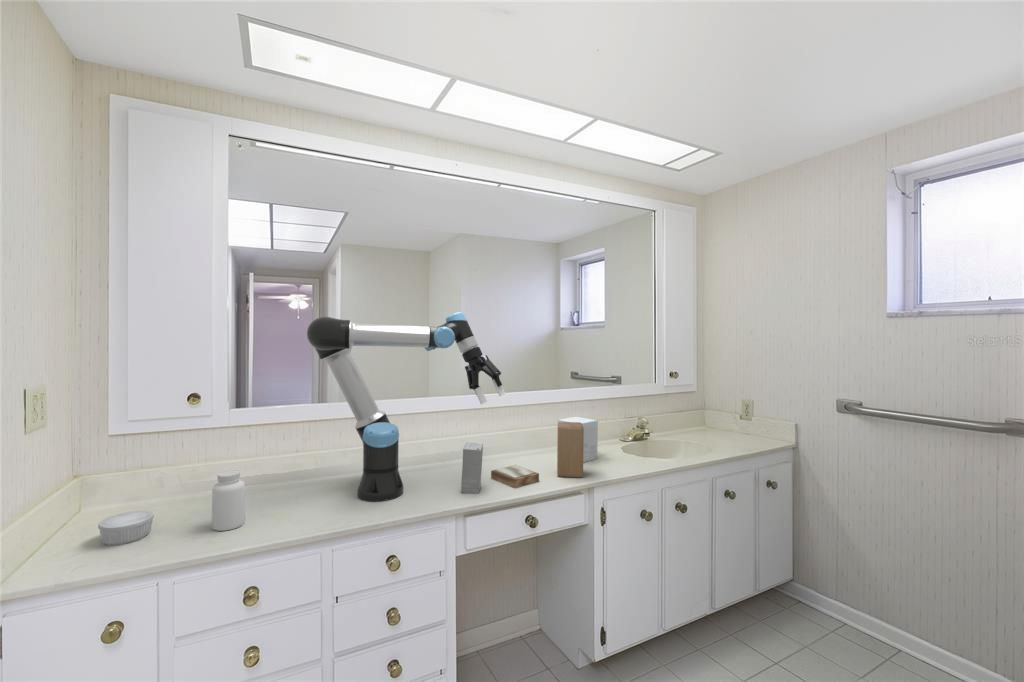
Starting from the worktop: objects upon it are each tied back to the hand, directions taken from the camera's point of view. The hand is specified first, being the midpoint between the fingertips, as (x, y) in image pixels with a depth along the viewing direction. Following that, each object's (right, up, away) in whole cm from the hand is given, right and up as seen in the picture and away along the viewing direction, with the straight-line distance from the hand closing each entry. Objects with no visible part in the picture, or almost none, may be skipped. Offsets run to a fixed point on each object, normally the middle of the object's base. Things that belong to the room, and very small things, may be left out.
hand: (493, 399), depth 171 cm
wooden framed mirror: (+8, -30, -4) cm, 32 cm away
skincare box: (-7, -30, -15) cm, 35 cm away
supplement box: (+37, -31, +28) cm, 55 cm away
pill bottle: (-73, -30, -47) cm, 92 cm away
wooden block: (+30, -31, +4) cm, 43 cm away
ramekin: (-95, -30, -55) cm, 114 cm away
